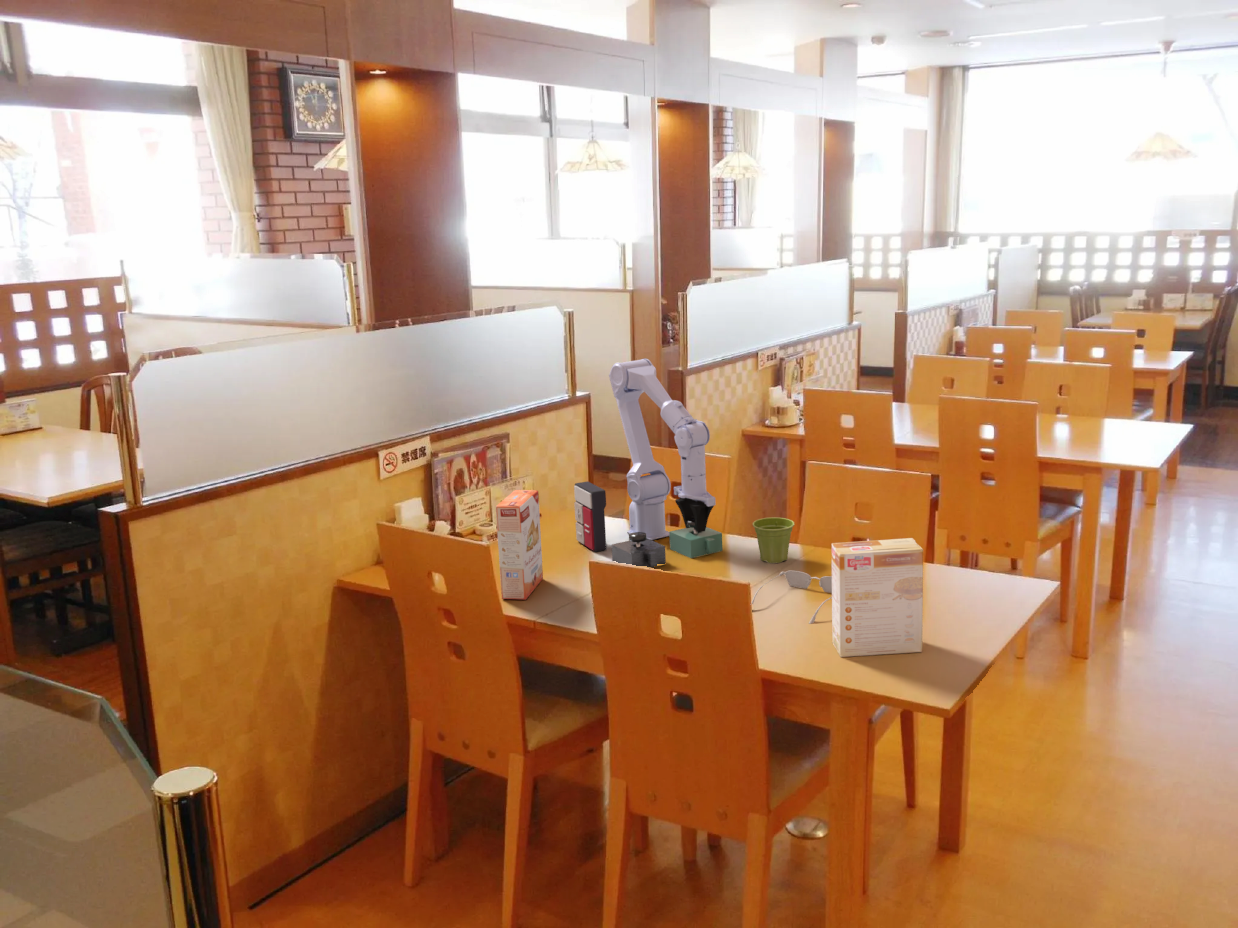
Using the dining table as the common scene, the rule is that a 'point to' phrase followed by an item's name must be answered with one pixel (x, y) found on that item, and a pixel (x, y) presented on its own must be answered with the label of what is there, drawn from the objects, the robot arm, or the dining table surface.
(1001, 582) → the dining table surface
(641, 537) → the charcoal plunger
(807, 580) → the eyeglasses
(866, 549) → the coffeecake box
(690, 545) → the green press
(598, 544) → the red grey tall block
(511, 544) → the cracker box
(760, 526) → the plant pot
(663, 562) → the charcoal press
